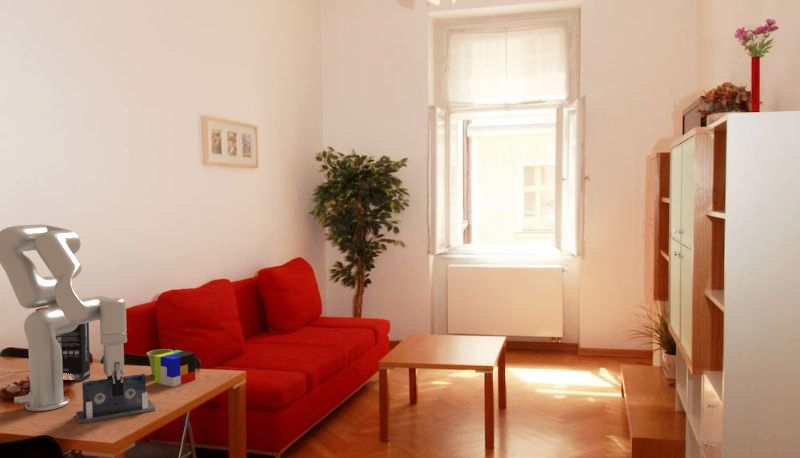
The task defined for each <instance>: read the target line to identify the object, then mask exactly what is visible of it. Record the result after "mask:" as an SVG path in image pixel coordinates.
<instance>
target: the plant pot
mask: <svg viewBox="0 0 800 458" xmlns="http://www.w3.org/2000/svg"><path fill="white" fill-rule="evenodd" d="M171 351H173V350H172V349H169V348H168V349H165V348H163V349H154V350H150V351H148V352H146V355H147V357H148V359H149V364H150V369H151V370H150V371H151V375H152V376H154V377H155V360H154V356H156V355H159V354H163V353H167V352H171Z"/></svg>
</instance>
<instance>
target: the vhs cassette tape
mask: <svg viewBox="0 0 800 458" xmlns="http://www.w3.org/2000/svg"><path fill="white" fill-rule="evenodd" d="M146 377H147V376H146V375H145V373H139V374H132V375H127V376H122V379H123V393H124V394H123V395H121V396H114V397H113V396H112V383H113V381H112V378H109V379H107V378H104V379H103V378H102V379H97V380H87V381H82V384H81V385H82V411H83V413H84V415H85V416H86V401H89V400H92V414H98V413H104V412H110V411H116V410H123V409H128V408H135V407H141V406H142V405H141V392H147V388H146V387H147V386H146V384H147V383H146Z"/></svg>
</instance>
